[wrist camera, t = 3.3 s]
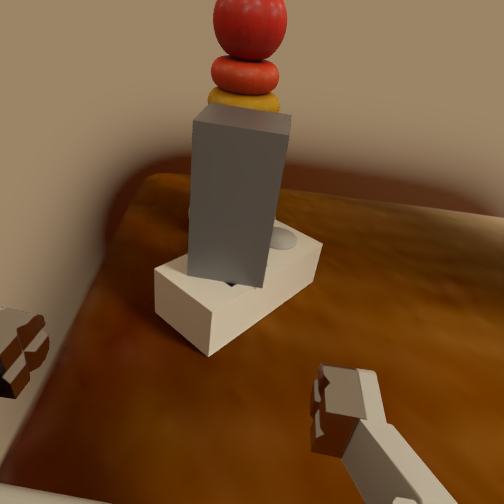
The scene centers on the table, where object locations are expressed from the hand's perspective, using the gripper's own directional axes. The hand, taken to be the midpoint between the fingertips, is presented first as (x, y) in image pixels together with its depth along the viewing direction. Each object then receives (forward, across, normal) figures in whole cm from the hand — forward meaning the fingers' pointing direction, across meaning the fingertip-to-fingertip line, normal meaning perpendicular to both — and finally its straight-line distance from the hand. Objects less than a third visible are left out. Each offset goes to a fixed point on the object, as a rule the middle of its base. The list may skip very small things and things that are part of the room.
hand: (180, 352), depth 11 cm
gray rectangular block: (+12, 0, +7) cm, 14 cm away
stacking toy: (+23, +1, +9) cm, 25 cm away
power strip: (+13, -1, +9) cm, 16 cm away
